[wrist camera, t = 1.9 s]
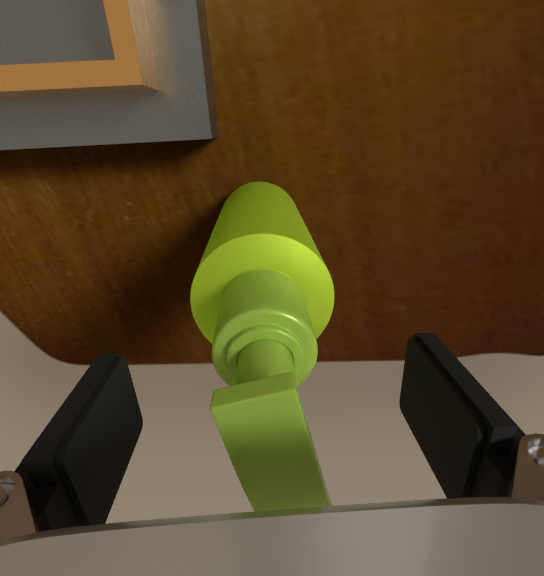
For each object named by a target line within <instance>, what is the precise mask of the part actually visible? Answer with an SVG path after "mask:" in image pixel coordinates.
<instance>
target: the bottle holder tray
mask: <svg viewBox="0 0 544 576" xmlns="http://www.w3.org/2000/svg"><path fill="white" fill-rule="evenodd" d="M216 137H219V135H218V125H217V116H216V107H215V97H214V88H213V78H212V69H211V59H210V50H209V40H208V31H207V22H206V12H205V3H204V0H0V150H13V149H32V148H51V147H69V146H88V145H107V144H125V143H144V142H163V141H181V140H200V139H213V138H216Z"/></svg>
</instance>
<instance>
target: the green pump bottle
mask: <svg viewBox="0 0 544 576" xmlns="http://www.w3.org/2000/svg"><path fill="white" fill-rule="evenodd" d="M190 303H191V310H192V314H193V317H194V319H195V322H196V324H197V326H198V327H199V329H200V331H201V332H202V333H203V335H204V336H205V337H206V338H207V339H208V340H209V341H210V342H211V343H212V360H213V364H214V367H215V369H216V371H217V373H218V374H219V376H220V377H221V378H222V379H223V380H224V381H225V382H226V383H227V384H228V385H230V386H229V387H224V388H220V389H216V390H214V391H213V394H212V401H211V407H210V409H211V412H212V414H213V417H214V419H215V421H216V424H217V427H218V429H219V432H220V434H221V437H222V439H223V442H224V444H225V447H226V449H227V452H228V454H229V456H230V459H231V461H232V464H233V466H234V469H235V471H236V473H237V476H238V478H239V480H240V482H241V485H242V487H243V489H244V491H245V493H246V495H247V497H248V499H249V501H250V503H251V505H252V507H253V509H254V511H255V512H256V511H270V510H283V509H297V508H311V507H324V506H331V501H330V497H329V495H328V491H327V488H326V485H325V482H324V479H323V475H322V472H321V468H320V465H319V462H318V458H317V455H316V452H315V448H314V445H313V441H312V438H311V434H310V431H309V427H308V424H307V420H306V417H305V413H304V410H303V406H302V403H301V399H300V396H299V392H298V389H297V386H298V385H299V384H301V383H302V382H303V381H304V380H305V379H306V378H307V377H308V376H309V374H310V373H311V371H312V370H313V368H314V366H315V363H316V360H317V351H318V348H317V341H316V339H317V338H318V337H319V335H320V334H321V333H322V332H323V330H324V329H325V327H326V326H327V324H328V322H329V319H330V317H331V314H332V311H333V306H334V287H333V282H332V279H331V276H330V274H329V271H328V269H327V267H326V265H325V263H324V261H323V259H322V257H321V255H320V253H319V251H318V249H317V247H316V245H315V243H314V241H313V239H312V237H311V235H310V233H309V231H308V229H307V227H306V225H305V223H304V221H303V219H302V217H301V215H300V213H299V211H298V209H297V207H296V205H295V203H294V202H293V200H292V198H291V197H290V196H289V195H288V194H287V193H286V192H285V191H284V190H283V189H281V188H280V187H278V186H276V185H274V184H271V183H267V182H251V183H247V184H245V185H242V186H240V187H239V188H237V189H236V190H234V191H233V192H232V193H231V194H230V195H229V197H228V198H227V199H226V201H225V203H224V205H223V207H222V210H221V212H220V215H219V217H218V220H217V222H216V224H215V227H214V229H213V232H212V234H211V237H210V239H209V242H208V244H207V247H206V249H205V251H204V254H203V256H202V259H201V261H200V264H199V266H198V269H197V271H196V273H195V276H194V279H193V282H192V286H191V293H190Z"/></svg>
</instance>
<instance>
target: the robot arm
mask: <svg viewBox="0 0 544 576" xmlns="http://www.w3.org/2000/svg"><path fill="white" fill-rule="evenodd" d="M400 409H401V411H402V414H403V416H404V417H405V419H406V421H407V423H408V425H409V427H410V429H411V431H412V433H413V435H414V436H415V438H416V440H417V442H418V444H419V446H420V448H421V450H422V452H423V454H424V455H425V457H426V459H427V461H428V463H429V465H430V467H431V469H432V471H433V472H434V474H435V476H436V478H437V480H438V482H439V484H440V486H441V487H442V489H443V491H444V493H445V495H446V497H447V499H430V500H412V501H398V502H384V503H368V504H353V505H339V506H324V507H311V508H297V509H283V510H270V511H256V512H243V513H230V514H217V515H205V516H191V517H179V518H166V519H154V520H141V521H129V522H119V523H109V524H105V522H106V520H107V517H108V514H109V512H110V510H111V507H112V505H113V502H114V499H115V497H116V494H117V492H118V489H119V486H120V484H121V481H122V479H123V476H124V474H125V471H126V469H127V466H128V464H129V461H130V458H131V456H132V453H133V451H134V448H135V446H136V443H137V441H138V438H139V435H140V433H141V430H142V425H143V420H142V415H141V412H140V408H139V404H138V401H137V397H136V393H135V390H134V386H133V382H132V378H131V375H130V371H129V368H128V364H127V360H126V358H125V357H121V356H120V354H119V353H109V354H99V355H98V356H97V357H96V359H95V360H94V361H93V363H92V364H91V365H90V367H89V368H88V370H87V371H86V372H85V374H84V375H83V377H82V378H81V379H80V381H79V382H78V383H77V385H76V386H75V388H74V389H73V390H72V392H71V393H70V394H69V396H68V397H67V399H66V400H65V401H64V403H63V404H62V406H61V407H60V408H59V410H58V411H57V412H56V414H55V415H54V417H53V418H52V419H51V421H50V422H49V423H48V425H47V426H46V428H45V429H44V430H43V432H42V433H41V435H40V436H39V437H38V439H37V440H36V441H35V443H34V444H33V446H32V447H31V449H30V450H29V451H28V453H27V454H26V455H25V457H24V458H23V459H22V462H21V463H20V465H19V466H18V467H17V469H16V470H15V471H2V472H0V576H544V434H537V433H535V434H528V435H525V433H524V432H523V431H522V430H521V429H520V428H519V427H518V426H517V424H516V423H515V422H514V421H513V420H512V419H511V418H510V417H509V416H508V415H507V413H506V412H505V411H504V410H503V409H502V408H501V407H500V406H499V405H498V403H497V402H496V401H495V400H494V399H493V398H492V397H491V396H490V395H489V393H488V392H487V391H486V390H485V389H484V388H483V387H482V386H481V385H480V383H478V381H477V380H476V379H475V378H474V377H473V376H472V375H471V374H470V372H469V371H468V370H467V369H466V368H465V367H464V366H463V365H462V364H461V363H460V361H459V360H458V359H457V358H456V357H455V356H454V355H453V354H452V352H451V351H450V350H449V349H448V348H447V347H446V346H445V345H444V344H443V343H442V341H441V340H440V339H439V338H438V337H437V336H436V335H435V334H434V333H418V334H414V335H413V338H410V339H409V340H408V342H407V350H406V357H405V364H404V372H403V379H402V387H401V394H400Z"/></svg>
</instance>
